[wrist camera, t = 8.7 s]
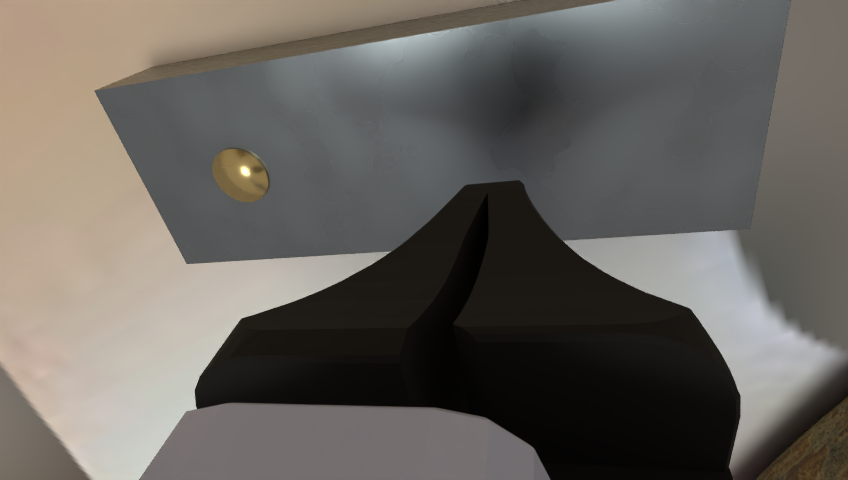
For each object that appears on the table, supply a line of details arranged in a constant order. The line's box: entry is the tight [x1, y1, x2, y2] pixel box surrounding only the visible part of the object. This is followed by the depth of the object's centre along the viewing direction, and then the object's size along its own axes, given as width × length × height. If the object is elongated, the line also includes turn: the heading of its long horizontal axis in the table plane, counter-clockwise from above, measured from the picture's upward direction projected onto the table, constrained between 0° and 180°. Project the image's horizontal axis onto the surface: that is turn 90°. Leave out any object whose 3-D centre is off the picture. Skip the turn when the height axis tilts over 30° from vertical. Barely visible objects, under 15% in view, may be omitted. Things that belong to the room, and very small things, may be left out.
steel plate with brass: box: [95, 0, 791, 264], centre depth 17 cm, size 7×20×3 cm, turn 101°
